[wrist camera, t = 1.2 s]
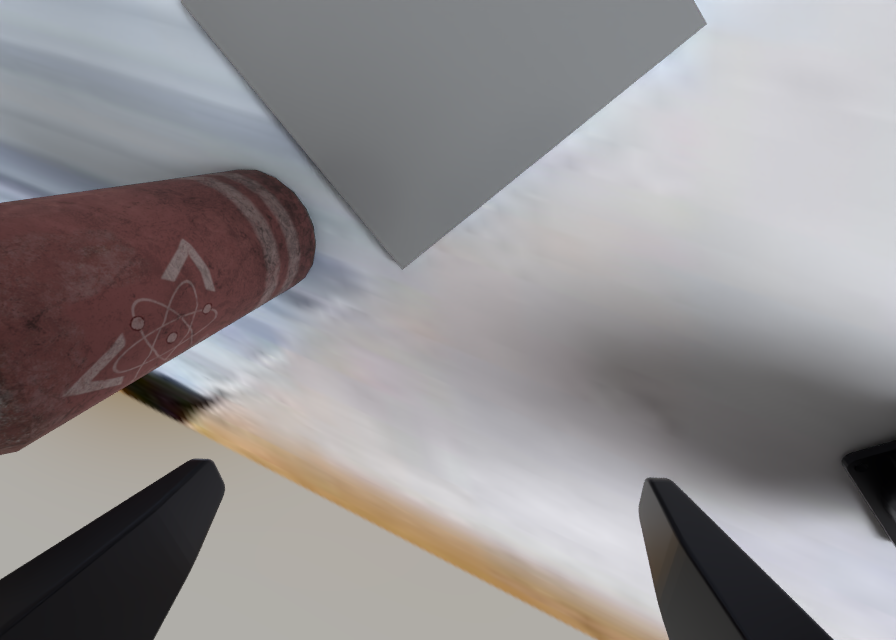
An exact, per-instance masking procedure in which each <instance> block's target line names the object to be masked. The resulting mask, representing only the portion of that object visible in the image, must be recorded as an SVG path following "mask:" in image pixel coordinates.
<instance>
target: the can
mask: <svg viewBox="0 0 896 640" xmlns="http://www.w3.org/2000/svg"><path fill="white" fill-rule="evenodd" d="M315 247H316V241H315V234H314V227H313V224H312V221H311V219H310V217H309V214H308V212H307V210H306V208H305V207H304V205H303V204H302V203H301V201H300V200H299V199H298V197H297V196H296V195H295V194H294V193H293V192H292V191H291V190H290V189H289V188H287V187H286V186H285V185H284V184H282V183H281V182H280V181H279V180H277V179H276V178H275V177H272V176H270V175H267V174H265V173H262V172H260V171H258V170H234V171H227V172H219V173H212V174H205V175H198V176H191V177H183V178H176V179H169V180H162V181H155V182H147V183H140V184H133V185H126V186H119V187H112V188H104V189H97V190H90V191H83V192H76V193H68V194H61V195H54V196H47V197H40V198H32V199H25V200H18V201H11V202H4V203H0V455H2V454H7V453H12V452H17V451H19V450H20V449H22V448H24V447H26V446H27V445H29V444H31V443H32V442H34V441H35V440H37V439H39V438H41V437H42V436H44V435H46V434H47V433H49V432H50V431H52V430H54V429H56V428H57V427H59V426H61V425H62V424H64V423H66V422H67V421H69V420H71V419H72V418H74V417H76V416H77V415H79V414H81V413H82V412H84V411H86V410H87V409H89V408H91V407H92V406H94V405H96V404H97V403H99V402H101V401H102V400H104V399H106V398H107V397H109V396H111V395H113V394H114V393H116V392H118V391H119V390H121V389H123V388H124V387H126V386H128V385H129V384H131V383H133V382H134V381H136V380H138V379H139V378H141V377H143V376H144V375H146V374H148V373H149V372H151V371H153V370H154V369H156V368H158V367H159V366H161V365H163V364H164V363H166V362H168V361H169V360H171V359H173V358H174V357H176V356H178V355H179V354H181V353H183V352H184V351H186V350H188V349H189V348H191V347H193V346H194V345H196V344H198V343H199V342H201V341H203V340H205V339H206V338H208V337H210V336H211V335H213V334H215V333H216V332H218V331H220V330H221V329H223V328H225V327H226V326H228V325H230V324H231V323H233V322H235V321H236V320H238V319H240V318H241V317H243V316H245V315H246V314H248V313H250V312H251V311H253V310H255V309H256V308H258V307H260V306H261V305H263V304H265V303H266V302H268V301H270V300H271V299H273V298H275V297H276V296H278V295H280V294H281V293H283V292H285V291H286V290H288V289H290V288H291V287H293V286H295V285H296V284H297V283H299V282H300V281H301V280H302V279H304V278H305V277H306V275H307V273H308V272H309V270H310V268H311V266H312V264H313V260H314V253H315Z"/></svg>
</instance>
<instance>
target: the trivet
mask: <svg viewBox="0 0 896 640" xmlns="http://www.w3.org/2000/svg"><path fill="white" fill-rule="evenodd" d="M181 3H182V4H183V5H184V7H185V8H186V9H187V10H188V12H189V13H190V14H191V15H192V16H193V18H194V19H195V20H196V21H197V22H198V24H199V25H200V26H201V27H202V28H203V30H204V31H205V32H206V33H207V34H208V36H209V37H210V38H211V39H212V40H213V42H214V43H215V44H216V45H217V47H218V48H219V49H220V50H221V51H222V53H223V54H224V55H225V56H226V57H227V59H228V60H229V61H230V62H231V63H232V65H233V66H234V67H235V68H236V69H237V71H238V72H239V73H240V74H241V76H242V77H243V78H244V79H245V80H246V82H247V83H248V84H249V85H250V86H251V88H252V89H253V90H254V91H255V92H256V94H257V95H258V96H259V97H260V98H261V100H262V101H263V102H264V103H265V105H266V106H267V107H268V108H269V109H270V111H271V112H272V113H273V114H274V115H275V117H276V118H277V119H278V120H279V121H280V123H281V124H282V125H283V126H284V127H285V129H286V130H287V131H288V132H289V133H290V135H291V136H292V137H293V138H294V140H295V141H296V142H297V143H298V144H299V146H300V147H301V148H302V149H303V150H304V152H305V153H306V154H307V155H308V156H309V158H310V159H311V160H312V161H313V162H314V164H315V165H316V166H317V167H318V169H319V170H320V171H321V172H322V173H323V175H324V176H325V177H326V178H327V179H328V181H329V182H330V183H331V184H332V185H333V187H334V188H335V189H336V190H337V191H338V193H339V194H340V195H341V196H342V198H343V199H344V200H345V201H346V202H347V204H348V205H349V206H350V207H351V208H352V210H353V211H354V212H355V213H356V214H357V216H358V217H359V218H360V219H361V220H362V222H363V223H364V224H365V225H366V226H367V228H368V229H369V230H370V231H371V233H372V234H373V235H374V236H375V237H376V239H377V240H378V241H379V242H380V243H381V245H382V246H383V247H384V248H385V249H386V251H387V252H388V253H389V254H390V255H391V257H392V258H393V259H394V260H395V262H396V263H397V264H398V265H399V266H400V268H401V269H404V268H405V267H406V266H407V265H409V264H410V263H411V262H412V261H414V260H415V259H416V258H417V257H419V256H420V255H421V254H422V253H424V252H425V251H426V250H427V249H428V248H430V247H431V246H432V245H433V244H435V243H436V242H437V241H438V240H440V239H441V238H442V237H443V236H445V235H446V234H447V233H448V232H450V231H451V230H452V229H453V228H455V227H456V226H457V225H458V224H459V223H461V222H462V221H463V220H464V219H466V218H467V217H468V216H469V215H471V214H472V213H473V212H474V211H476V210H477V209H478V208H479V207H481V206H482V205H483V204H484V203H486V202H487V201H488V200H489V199H490V198H492V197H493V196H494V195H495V194H497V193H498V192H499V191H500V190H502V189H503V188H504V187H505V186H507V185H508V184H509V183H510V182H512V181H513V180H514V179H515V178H517V177H518V176H519V175H520V174H521V173H523V172H524V171H525V170H526V169H528V168H529V167H530V166H531V165H533V164H534V163H535V162H536V161H538V160H539V159H540V158H541V157H543V156H544V155H545V154H546V153H548V152H549V151H550V150H551V149H552V148H554V147H555V146H556V145H557V144H559V143H560V142H561V141H562V140H564V139H565V138H566V137H567V136H569V135H570V134H571V133H572V132H574V131H575V130H576V129H577V128H579V127H580V126H581V125H582V124H583V123H585V122H586V121H587V120H588V119H590V118H591V117H592V116H593V115H595V114H596V113H597V112H598V111H600V110H601V109H602V108H603V107H605V106H606V105H607V104H608V103H609V102H611V101H612V100H613V99H614V98H616V97H617V96H618V95H619V94H621V93H622V92H623V91H624V90H626V89H627V88H628V87H629V86H631V85H632V84H633V83H634V82H636V81H637V80H638V79H639V78H640V77H642V76H643V75H644V74H645V73H647V72H648V71H649V70H650V69H652V68H653V67H654V66H655V65H657V64H658V63H659V62H660V61H662V60H663V59H664V58H665V57H667V56H668V55H669V54H670V53H671V52H673V51H674V50H675V49H676V48H678V47H679V46H680V45H681V44H683V43H684V42H685V41H686V40H688V39H689V38H690V37H691V36H693V35H694V34H695V33H696V32H698V31H699V30H700V29H701V28H702V27H704V26H705V25H706V24H707V23H706V21H705V19H704V18H703V16H702V14H701V12H700V11H699V9H698V7H697V5H696V4H695V2H694V0H182V1H181Z"/></svg>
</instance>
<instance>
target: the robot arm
mask: <svg viewBox="0 0 896 640" xmlns="http://www.w3.org/2000/svg"><path fill="white" fill-rule="evenodd" d="M861 463H862V464H861ZM857 464H860V465H857ZM842 465H843V466H844V468H845V469H846V471H847V473H848V474H849V476H850V477H851V479H852V480H853V482H854V484H855V485H856V487H857V488H858V490H859V491H860V493H861V494H862V496H863V498H864V499H865V501H866V502H867V504H868V505H869V507H870V509H871V510H872V512H873V513H874V515H875V516H876V518H877V519H878V521H879V523H880V524H881V526H882V527H883V529H884V530H885V532H886V534H887V535H888V537H889V538H890V540H891V541H892V543H893V544H894V546H895V547H896V441H892V442H889V443H885V444H882V445H878V446H875V447H872V448H868V449H865V450H861V451H858V452H854V453H851V454H849V455H846V456H845V457H844V458H843V460H842ZM224 491H225V484H224V482H223V480H222V478H221V475H220V473H219V471H218V469H217V467H216V466H215V463H214V462H213V461H212V460H210V459H192V460H189V461H187V462H186V463H184V464H183V465H181V466H179V467H178V468H176V469H175V470H173V471H171V472H170V473H168V474H167V475H165V476H164V477H162V478H160V479H159V480H157V481H156V482H154V483H153V484H151V485H149V486H148V487H146V488H145V489H143V490H142V491H140V492H138V493H137V494H135V495H134V496H132V497H130V498H129V499H127V500H126V501H124V502H122V503H121V504H119V505H118V506H116V507H114V508H113V509H111V510H110V511H108V512H107V513H105V514H103V515H102V516H100V517H99V518H97V519H95V520H94V521H92V522H91V523H89V524H88V525H86V526H84V527H83V528H81V529H80V530H78V531H76V532H75V533H73V534H72V535H70V536H69V537H67V538H65V539H64V540H62V541H61V542H59V543H58V544H56V545H54V546H53V547H51V548H50V549H48V550H46V551H45V552H43V553H42V554H40V555H38V556H37V557H35V558H34V559H32V560H31V561H29V562H27V563H26V564H24V565H23V566H21V567H20V568H18V569H17V570H15V571H13V572H12V573H10V574H8V575H7V576H5V577H4V578H2V579H1V580H0V640H154V638H155V636H156V634H157V632H158V631H159V629H160V627H161V625H162V623H163V621H164V619H165V618H166V616H167V614H168V611H169V610H170V608H171V606H172V604H173V603H174V601H175V599H176V597H177V595H178V593H179V591H180V590H181V588H182V586H183V584H184V582H185V580H186V578H187V577H188V574H189V573H190V571H191V568H192V566H193V564H194V562H195V560H196V558H197V556H198V554H199V551H200V549H201V547H202V544H203V542H204V540H205V537H206V535H207V533H208V531H209V528H210V526H211V524H212V521H213V519H214V517H215V514H216V512H217V509H218V507H219V505H220V503H221V500H222V498H223V495H224ZM639 518H640V523H641V528H642V532H643V537H644V542H645V546H646V551H647V556H648V560H649V565H650V569H651V574H652V579H653V583H654V588H655V592H656V597H657V601H658V605H659V608H660V612H661V615H662V618H663V622H664V625H665V628H666V631H667V634H668V637H669V640H833V639H832V638H831V637H830V636H829V635H828V634H827V633H826V632H825V631H824V630H823V629H822V628H821V627H820V626H819V625H818V624H817V623H816V622H815V621H814V620H813V619H812V618H811V617H810V616H809V615H808V614H807V613H806V612H805V611H804V610H803V609H802V608H801V607H800V606H799V605H798V604H797V603H796V602H795V601H794V600H793V599H792V598H791V597H790V596H789V595H788V594H787V593H786V592H785V591H784V590H783V589H782V588H781V587H780V586H779V585H778V584H777V583H776V582H775V581H773V580H772V579H771V578H770V577H769V576H768V575H767V574H766V573H765V572H764V571H763V570H762V569H761V568H760V567H759V566H758V565H757V564H756V563H755V562H754V561H753V560H752V559H751V558H750V557H749V556H748V555H747V554H746V553H745V552H744V551H743V550H742V549H741V548H740V547H739V546H738V545H737V544H736V543H735V542H734V541H733V540H732V539H731V538H730V537H729V536H728V535H727V534H726V533H725V532H724V531H723V530H722V529H721V528H720V527H719V526H718V525H717V524H716V523H715V522H714V521H713V520H712V519H711V518H710V517H709V516H707V515H706V514H705V513H704V512H703V511H702V510H701V509H700V508H699V507H698V506H697V505H696V504H695V503H694V502H693V501H692V500H691V499H690V498H689V497H688V496H687V495H686V494H685V493H684V492H683V491H682V490H681V489H680V488H679V487H678V486H677V485H676V484H675V483H674V482H673V481H671V480H670V479H667V478H651V477H650V478H647V479H646V480H645V482H644V485H643V490H642V494H641V498H640V502H639Z"/></svg>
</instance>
